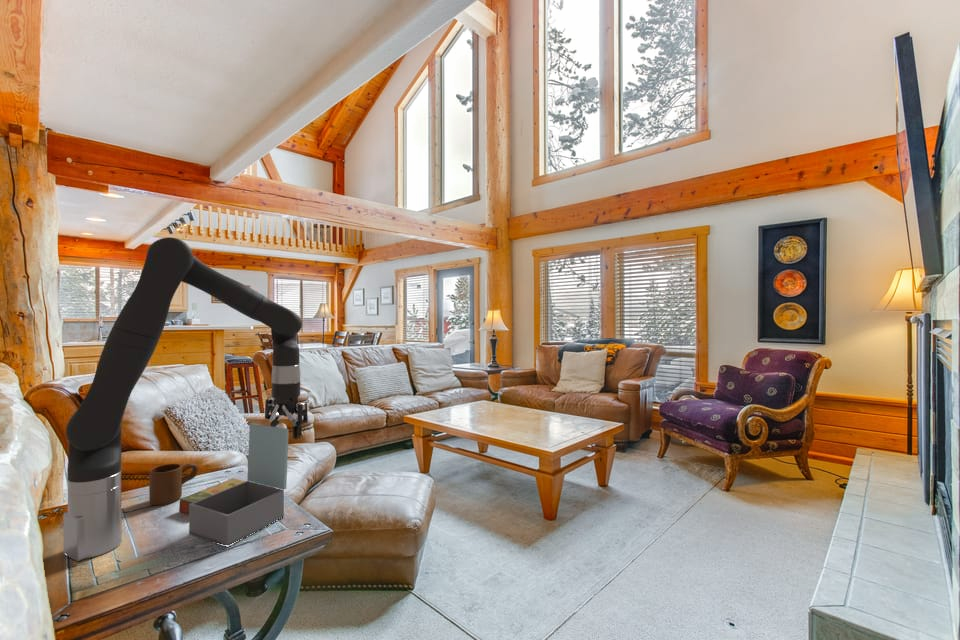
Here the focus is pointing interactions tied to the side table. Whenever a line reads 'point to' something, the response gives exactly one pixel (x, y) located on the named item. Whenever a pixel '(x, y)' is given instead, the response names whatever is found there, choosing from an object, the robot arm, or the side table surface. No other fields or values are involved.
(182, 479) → the mug
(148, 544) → the side table surface
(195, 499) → the carton
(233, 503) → the storage box
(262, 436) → the lid flap
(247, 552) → the side table surface
